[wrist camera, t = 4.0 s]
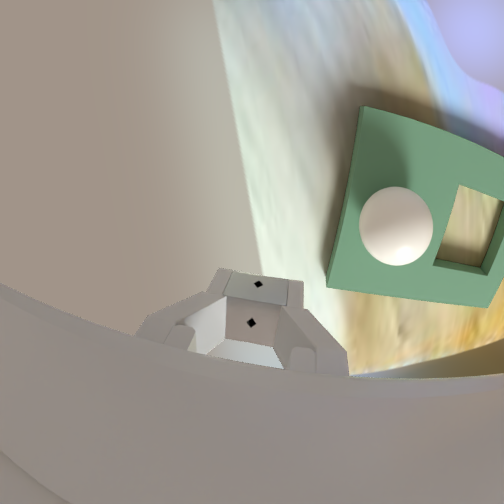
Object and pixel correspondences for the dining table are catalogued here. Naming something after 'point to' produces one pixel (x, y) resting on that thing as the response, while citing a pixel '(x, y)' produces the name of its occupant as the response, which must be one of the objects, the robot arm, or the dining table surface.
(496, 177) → the putting mat
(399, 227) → the ball
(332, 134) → the dining table surface
